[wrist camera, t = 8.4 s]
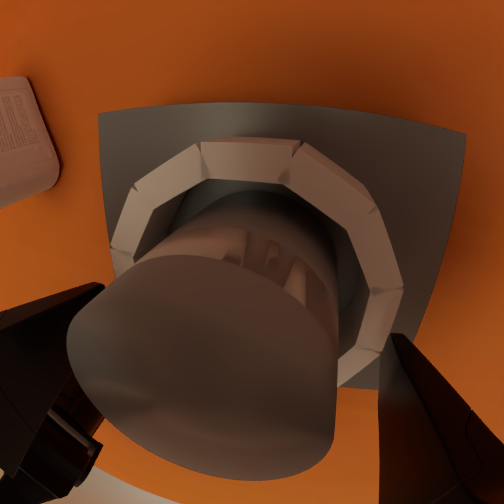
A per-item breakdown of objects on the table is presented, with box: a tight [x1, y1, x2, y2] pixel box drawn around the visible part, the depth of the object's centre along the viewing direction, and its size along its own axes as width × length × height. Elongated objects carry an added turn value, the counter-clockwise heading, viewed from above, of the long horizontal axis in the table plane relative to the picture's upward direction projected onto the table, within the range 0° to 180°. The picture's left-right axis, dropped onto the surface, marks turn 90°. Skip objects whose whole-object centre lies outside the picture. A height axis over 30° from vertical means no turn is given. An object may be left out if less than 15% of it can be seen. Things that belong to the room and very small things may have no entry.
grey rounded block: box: [67, 190, 338, 481], centre depth 9 cm, size 6×6×7 cm
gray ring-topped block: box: [98, 102, 467, 390], centre depth 13 cm, size 12×14×8 cm
